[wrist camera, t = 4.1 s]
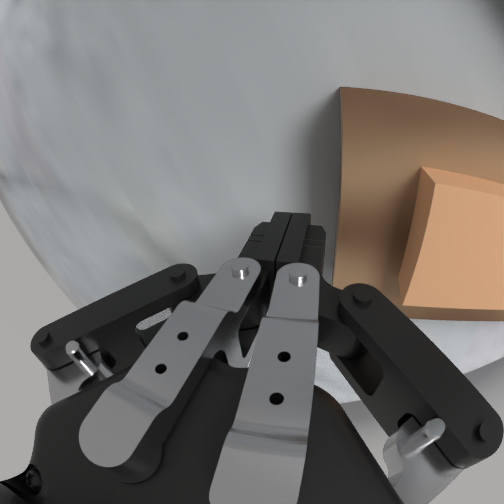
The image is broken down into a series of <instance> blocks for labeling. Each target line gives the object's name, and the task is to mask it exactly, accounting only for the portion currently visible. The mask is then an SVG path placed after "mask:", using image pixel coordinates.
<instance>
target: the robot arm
mask: <svg viewBox="0 0 504 504" xmlns="http://www.w3.org/2000/svg"><path fill="white" fill-rule="evenodd" d="M325 238H326V232H325V231H324V229H323V228H322V226H315V225H311V215H310V214H307V213H291V212H275V213H274V215H273V217H272V219H271V221H270V222H262V223H260V224H259V225H258V226H256V227H255V228H254V230H253V231H252V233H251V236H250V237H249V239H248V241H247V242H246V244H245V246H244V248H243V249H242V251H241V253H240V255H239V257H238V258H235V259H232V260H229V261H227V262H226V263H225V264H223V265H222V267H221V268H220V269H219V271H218V272H217V273H216V274H208V275H198V273H197V270H196V268H195V267H194V266H192V265H190V264H176V265H173V266H171V267H168V268H166V269H164V270H162V271H160V272H157V273H155V274H153V275H151V276H149V277H147V278H144V279H142V280H140V281H138V282H136V283H134V284H132V285H129V286H127V287H125V288H123V289H121V290H119V291H117V292H114V293H112V294H110V295H108V296H106V297H104V298H102V299H100V300H98V301H96V302H93V303H91V304H89V305H87V306H85V307H83V308H81V309H79V310H77V311H75V312H73V313H71V314H69V315H67V316H65V317H63V318H60V319H58V320H57V321H54V322H52V323H50V324H48V325H46V326H44V327H42V328H41V329H40V330H39V331H37V333H36V334H35V335H34V337H33V338H32V341H31V351H32V352H33V353H34V354H35V355H36V357H37V358H38V359H39V360H40V361H41V362H42V363H43V365H44V367H45V368H46V369H47V374H48V382H49V390H50V397H51V402H52V405H51V406H50V407H48V408H47V409H46V410H45V411H44V412H43V414H42V415H41V417H40V418H39V420H38V423H37V426H36V431H35V440H34V447H33V452H32V456H31V460H30V464H29V465H28V467H27V469H26V470H25V471H24V472H23V473H21V474H20V475H18V476H15V477H13V478H10V479H8V480H4V481H0V504H428V503H429V502H430V501H432V500H433V499H434V498H435V497H436V496H437V495H438V494H439V493H440V492H442V491H443V490H444V489H445V488H446V487H447V486H448V485H449V484H450V483H451V482H452V481H453V480H454V479H455V478H456V477H457V476H458V475H459V474H460V473H461V472H462V471H463V470H464V469H466V468H468V467H470V466H472V465H474V464H476V463H478V462H480V461H482V460H484V459H486V458H488V457H489V456H491V455H492V454H494V453H495V452H496V451H497V449H498V448H499V446H500V444H501V442H502V438H503V423H502V420H501V418H500V416H499V415H498V414H497V412H496V411H495V410H494V409H493V408H492V407H491V405H490V404H489V403H488V402H487V401H486V399H484V397H483V396H482V395H481V394H480V393H479V391H478V390H477V389H476V388H475V387H474V386H473V385H472V384H471V382H470V381H469V380H468V379H467V378H466V377H465V376H464V375H463V374H462V373H461V371H460V370H459V369H458V368H457V367H456V366H455V365H454V364H453V363H452V362H451V361H450V360H449V359H448V358H447V357H446V355H445V354H444V353H443V352H442V351H441V350H440V349H439V348H438V347H437V346H436V345H435V344H434V343H433V342H432V341H431V340H430V339H429V338H428V337H427V336H426V335H425V334H424V333H423V332H422V331H421V330H420V329H419V328H418V327H417V326H416V325H415V324H414V323H413V322H412V321H411V320H410V319H409V318H408V317H407V316H406V315H405V314H404V313H402V312H401V311H400V310H399V309H398V308H397V307H396V306H395V305H394V304H393V303H392V302H391V301H390V300H389V299H388V298H387V297H386V296H384V295H383V294H382V293H381V292H380V291H379V290H378V289H377V288H375V287H373V286H371V285H368V284H364V283H355V284H351V285H348V286H346V287H345V288H344V289H343V290H341V289H338V288H336V287H333V286H331V285H330V284H328V283H327V282H326V281H325V280H324V279H323V277H322V273H323V265H324V253H325ZM167 308H170V311H171V313H172V314H171V315H170V317H169V318H168V319H166V320H163V321H161V322H159V323H157V324H155V325H153V326H151V327H149V328H147V329H145V330H139V329H137V328H136V325H137V324H138V323H139V322H140V321H142V320H144V319H146V318H149V317H151V316H153V315H155V314H157V313H159V312H161V311H163V310H165V309H167ZM267 312H268V314H267ZM266 315H267V316H266ZM317 347H318V348H321V349H323V350H325V351H328V352H329V355H330V358H331V360H332V361H333V362H334V364H335V365H336V366H337V368H338V369H339V370H340V372H341V373H342V375H343V376H344V377H345V379H346V380H347V381H348V383H349V384H350V385H351V387H352V388H353V389H354V391H355V392H356V393H357V395H358V396H359V397H360V399H361V400H362V401H363V403H364V404H365V405H366V407H367V408H368V409H369V411H370V412H371V414H372V415H373V416H374V418H375V419H376V420H377V421H378V423H379V424H380V426H381V427H382V428H383V430H384V431H385V432H386V434H387V435H388V436H389V438H388V439H387V441H386V442H385V445H384V448H383V458H384V461H385V463H386V465H387V468H388V478H387V477H386V475H385V474H384V472H383V471H382V469H381V468H380V466H379V464H378V463H377V461H376V460H375V458H374V457H373V455H372V453H371V452H370V450H369V449H368V447H367V446H366V444H365V443H364V441H363V440H362V438H361V437H360V435H359V433H358V432H357V430H356V429H355V427H354V425H353V424H352V422H351V421H350V419H349V418H348V416H347V414H346V413H345V411H344V410H343V408H342V407H341V405H340V404H339V403H338V402H337V401H336V400H335V398H333V397H332V396H331V395H330V394H329V393H328V392H326V391H325V390H323V389H322V388H320V387H318V386H316V385H314V379H315V368H316V356H317ZM251 356H252V358H251ZM250 359H251V362H250V365H249V368H247V366H248V363H249V361H250Z"/></svg>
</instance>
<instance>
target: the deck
mask: <svg viewBox="0 0 504 504" xmlns="http://www.w3.org/2000/svg"><path fill="white" fill-rule="evenodd" d="M340 113H341V157H340V187H339V206H338V221H337V234H336V245H335V255H334V265H333V275H332V286H333V287H336V288H338V289H341V290H343V289H344V288H345V287H346V286H348V285H351V284H355V283H364V284H368V285H371V286H373V287H375V288H377V289H378V290H379V291H380V292H381V293H382V294H383V295H384V296H386V297H387V298H388V299H389V300H390V301H391V302H392V303H393V304H394V305H395V306H396V307H397V308H398V309H399V310H400V311H401V312H402V313H404V314H405V315H406V316H407V317H408V318H411V319H430V320H457V321H504V310H486V309H458V308H438V307H421V306H405V305H402V299H401V293H400V287H399V282H398V276H399V272H400V269H401V265H402V261H403V258H404V254H405V250H406V246H407V242H408V237H409V233H410V228H411V224H412V219H413V214H414V209H415V203H416V198H417V192H418V185H419V178H420V171H421V167H427V168H433V169H438V170H444V171H449V172H454V173H459V174H464V175H468V176H473V177H477V178H481V179H485V180H489V181H493V182H497V183H501V184H504V120H501V119H498V118H496V117H493V116H490V115H487V114H484V113H481V112H478V111H475V110H472V109H468V108H465V107H461V106H458V105H454V104H450V103H446V102H442V101H438V100H433V99H429V98H424V97H419V96H414V95H408V94H402V93H396V92H389V91H381V90H372V89H362V88H350V87H340Z"/></svg>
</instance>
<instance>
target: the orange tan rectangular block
mask: <svg viewBox="0 0 504 504" xmlns="http://www.w3.org/2000/svg"><path fill="white" fill-rule="evenodd" d="M398 282H399V287H400V293H401V299H402V305H405V306H421V307H438V308H458V309H486V310H504V184H501V183H497V182H493V181H489V180H485V179H481V178H477V177H473V176H468V175H464V174H459V173H454V172H449V171H444V170H438V169H433V168H427V167H421V171H420V178H419V185H418V192H417V198H416V203H415V209H414V214H413V219H412V224H411V228H410V233H409V237H408V242H407V246H406V250H405V254H404V258H403V261H402V265H401V269H400V272H399V276H398Z"/></svg>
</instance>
